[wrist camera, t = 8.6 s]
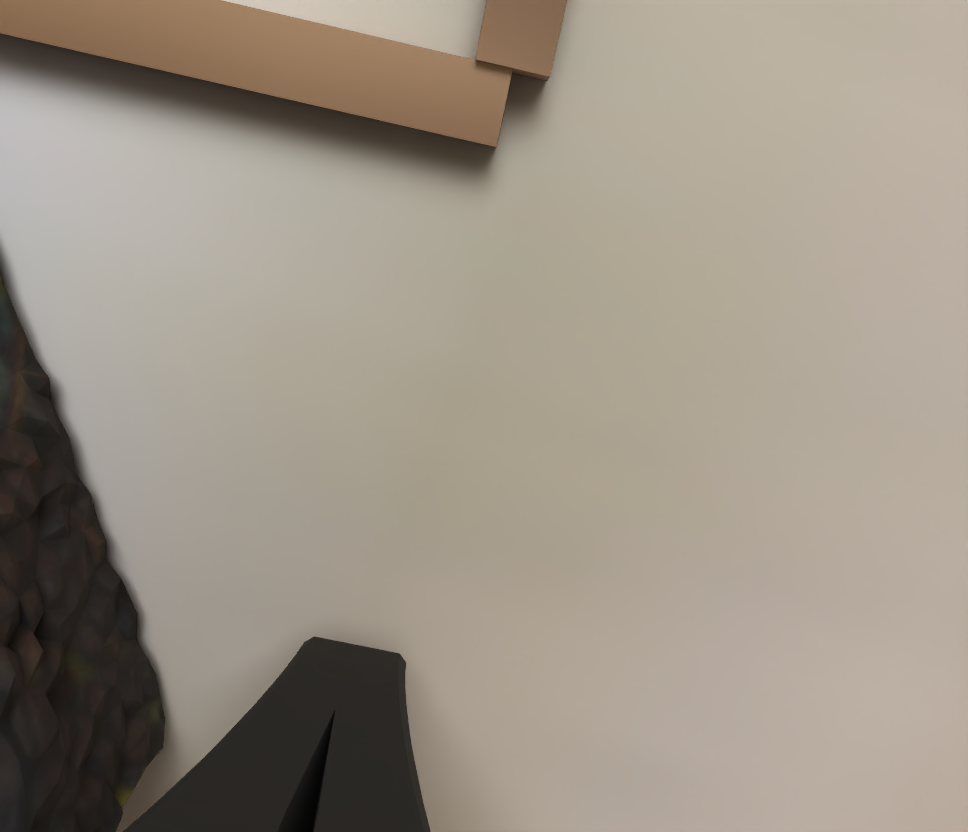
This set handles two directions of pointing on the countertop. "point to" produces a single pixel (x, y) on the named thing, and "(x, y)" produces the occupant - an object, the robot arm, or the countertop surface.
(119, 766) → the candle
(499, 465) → the countertop surface
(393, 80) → the track
